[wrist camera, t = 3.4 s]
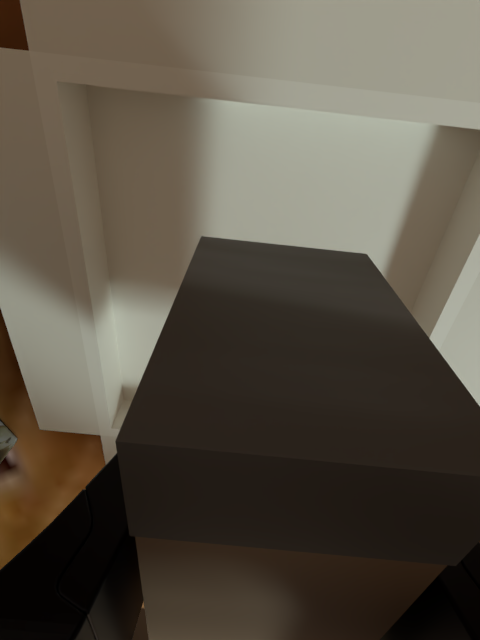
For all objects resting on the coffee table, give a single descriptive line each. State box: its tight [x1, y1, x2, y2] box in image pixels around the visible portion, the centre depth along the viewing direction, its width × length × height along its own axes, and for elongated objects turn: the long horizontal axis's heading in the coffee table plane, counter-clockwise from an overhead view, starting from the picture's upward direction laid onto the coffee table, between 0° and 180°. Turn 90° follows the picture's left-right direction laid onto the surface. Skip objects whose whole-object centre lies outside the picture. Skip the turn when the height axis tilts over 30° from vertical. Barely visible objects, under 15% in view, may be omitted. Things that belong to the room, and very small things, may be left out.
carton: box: [0, 0, 480, 464], centre depth 14 cm, size 21×20×2 cm
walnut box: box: [115, 236, 480, 640], centre depth 8 cm, size 8×4×6 cm, turn 174°
